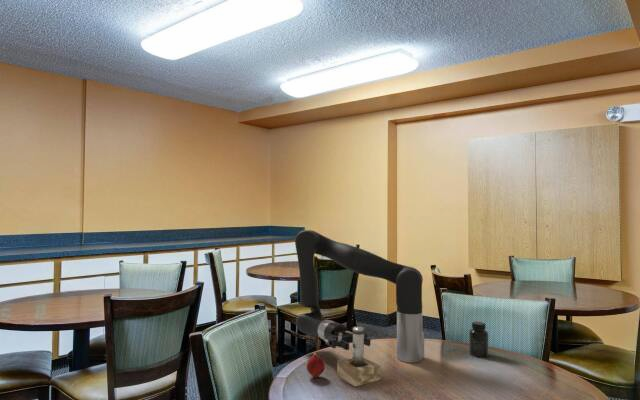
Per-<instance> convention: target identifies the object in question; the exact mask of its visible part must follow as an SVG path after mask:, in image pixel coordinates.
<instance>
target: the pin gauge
mask: <svg viewBox="0 0 640 400" xmlns="http://www.w3.org/2000/svg"><path fill="white" fill-rule="evenodd" d="M352 332H353V344H352V358H353V366H355V367H356V368H357V367H362V366H364V358H365V354H364V353H365V351H364V350H365V349H364V347H365V345H364V333H365V327H363V326H354V327H352Z"/></svg>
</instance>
